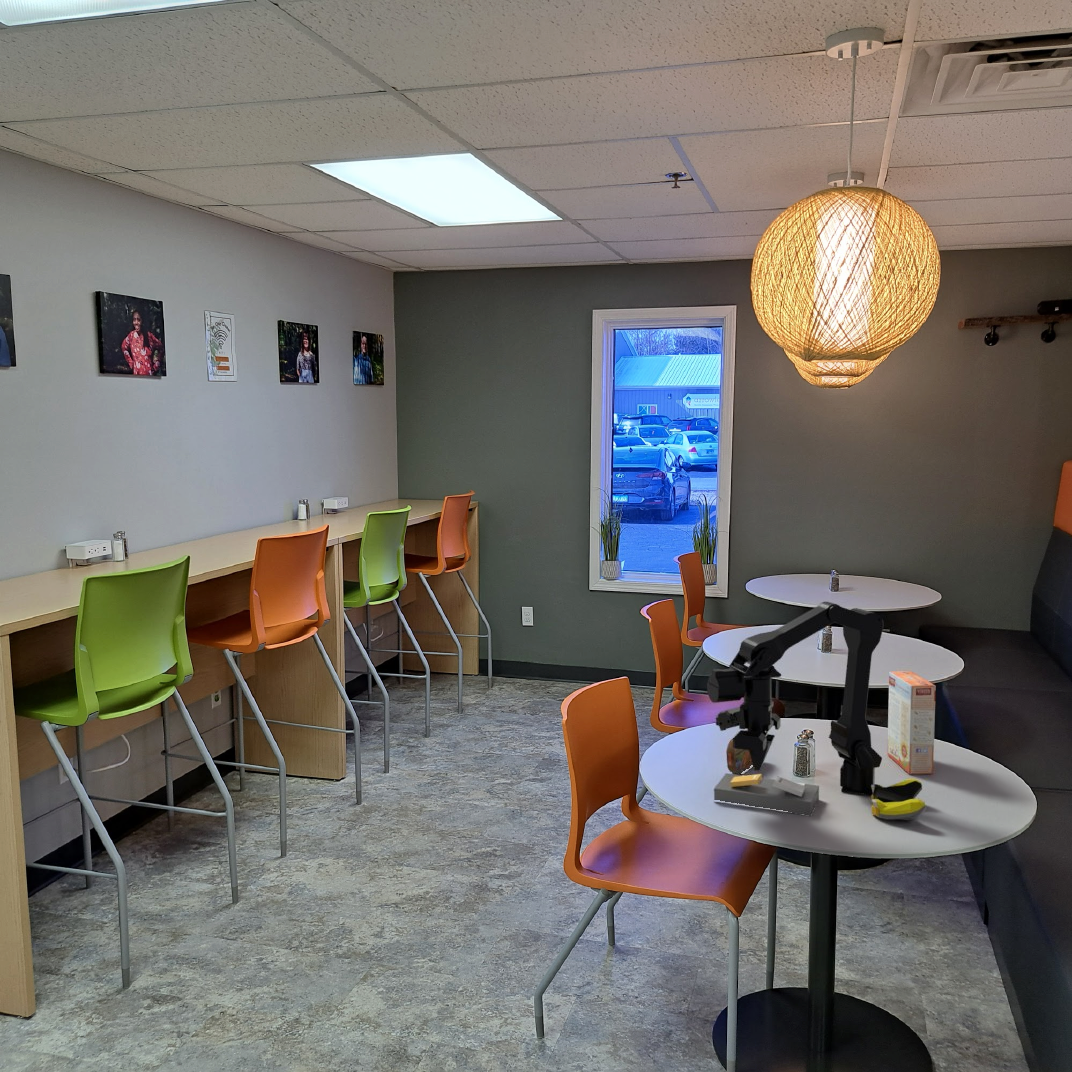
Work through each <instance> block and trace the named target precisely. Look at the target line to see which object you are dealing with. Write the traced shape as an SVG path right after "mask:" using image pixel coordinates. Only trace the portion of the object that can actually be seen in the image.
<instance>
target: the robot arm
mask: <svg viewBox="0 0 1072 1072" xmlns="http://www.w3.org/2000/svg"><path fill="white" fill-rule="evenodd" d="M833 624H838V625H841V626H842V632H843V633H842V634H843V638H844V641H845V644H846V647H847V660H846V671H845V680H844V691H843V699H842V710H841V715H840V716H839V718H838V719H837V720H833V719H832V720H831V721H830V733H829V735H828V739H830V742H831V746H832V747H833V749H834V750H835V751H836V752H837V754H838V757H839V758H841V759H843V761H842V765H841V766H840V769H839V771H840V772H839V777H840V778H839V786H840V787H841V789H840V790H841V791H840V792H843V793H847V794H855V795H864V796H869V797H871V795H872V794H873V791H872V788H871V785H875V778H876V777H875V775H876V774H875V773H876V771H875V768H879V767H880V766H881V763H882V760H883V758H882V756H881V755H880V754H879V753H878V752H877V751H876V750H875V749H874V748H873V747H872V734H871V731H870V728H869V724H868V721H867V719H866V718H867V717H866V716H867V708H868V707H867V706H868V697H869V696H868V695H869V689H870V686H869V685H870V678H871V677H870V675H871V666H872V659H873V658H872V657H873V656H872V655H873V653H874V650H875V649H876V648H877V647H878V645H879V644H880V642H881V638H882V634H883V630H884V620H883V618H881V616H880V614H877V613H876V612H872V611H868V610H865V609H862V608H858V607H855V608H851V609H848V608H846V607H842V606H840V605H839V604H838V603H834V602H830V601H823V602H820V603H819V604H818V605H817V606H815V607H814V608H812V609H810V610H808V611H807V612H805V613H803V614H801V615H799V616H797V617H796V618H795V619H793V620H791V621H789V622H787V623H786V624H784V625H782V626H780V627H779V628H778V627H777V629H774V630H771V631H767V632H760V633H757V634H754V635H752V636H749V637H746V638H745V639H743V640H742V641H741V643H740V646H739V650H738V651H737V654H736V655H735V656H734V658H733V660H732V661H731V663H730V664H729V665H728V668H723V669H719V668H714V669H711V675H710V676H709V677H708V680H707V683H706V691H707V696H708V698H709V700H710V701H711V702H712V703H713V704H716V703H726V702H736V701H737V702H738V701H741V699H743V702H741V704H739V706H738V707H733V708H729V709H726V710H722V711H720V712H719V713H717V714H716V716H715V725H716V726H718V728H719V730H720V731H721V732H723V731H726V730H727V729H730V728H731V729H732V728H736V727H739V729H740V730H739V731H738V732H737V733H736V734H735V735H734V737H732V738H733V748H735V749H744V750H749V753H750V756H751V760H752V763H753V769H754V771H755V772H760V771H761V770H762V768H763V765H764V762H765V760H766V758H767V755H768V753H769V751H770V749H771V746H772V743H773V741H774V740H775V736H776V735H775V734H770V733H769V732H770V730H771V729H772V728H773V727H774V729H775V730H777V731H778V730H779V729H780V727H781V724H782V723H781V717H780V716H779V715H778V714H777V713H774V712H773V713H772V708H773V707H774V701H773V700H772V679H773V678H781V677H782V674H781V673H780V671H778V670H777V669H776V667H775V666H774V665H775V664H776V663H777V662H778V661H779V660H781V659H782V658H783V656H784V654H785V653H786V652H787V651H788V650H789V649H790V648H792V647H793V646H795V645H797V644H799V643H800V642H802V641H804V640H806V639H807V638H809V637H811V636H812V635H813V636H814V635H815V634H816V633H818V632H821V630H823V629H826V628H827V627H829V626H830V625H833ZM746 664H748V665H749V666H748V665H746ZM745 730H748V731H745Z"/></svg>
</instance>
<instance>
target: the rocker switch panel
mask: <svg viewBox="0 0 1072 1072" xmlns="http://www.w3.org/2000/svg"><path fill="white" fill-rule="evenodd" d="M738 776H745V774H743V775H740V774H735V773H725V774H724V775H723V777H722V778H721V779H720V780H719V782H718V783H717V784H716V785H715V787H714V789H713V791H714V792H713V794H714V795H713V797H714V799H713V800H720V801H725V802H731V803H737V804H738V803H739V804H745V805H749V806H755V807H763V808H770V809H776V810H783V811H788V812H792V813H797V814H796V815H798V814H804V815H809V816H808V817H812V815H813V813H814V811H815V809H814V808H816V806H817V804H818V803H819V801H820V785H815V784H809V783H803V782H795V783H797V784H800V785H803V786H805V791H804V793H803V795H802V796H801V797H800V796H798V795H795V794H792V793H790V792H787V791H785V790H782V789H779V788H777V787H774V786H773V783H774V781H775V779H773V778H772V779H771V778H765V777H764V778H763V777H762V780H761V781H760V783H759V784H755V785H745V786H736V787H731V784H730V782H731V780H732V779H733V778H734V777H738ZM813 810H814V811H813ZM804 815H803V816H804Z"/></svg>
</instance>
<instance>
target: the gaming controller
mask: <svg viewBox="0 0 1072 1072" xmlns="http://www.w3.org/2000/svg"><path fill="white" fill-rule="evenodd" d="M871 788H872V791H873V794H872V795H871V796H870V797H871V798H870V799H871V802H870V804H872V805H871V814H872V815H874V816H876V818H880V819H885V820H904V821H905V820H906V821H907V820H910V821H911V820H912V819H914V818H916V817H918V816H919V815H920V814H922V813H923V812H924V811H925V810H926V804H925V801H923V800H921V799H919V798H916V797H917V796H918V795H919V794H920V793H921V791H922V790H923V784H922V781H920V780H918V779H916V778H906V779H904V780H902V781H899V782H897V783H895V784H891V785H889V786H882V785H880V784H877V783H876V784H875V785H871Z"/></svg>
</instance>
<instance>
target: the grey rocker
mask: <svg viewBox="0 0 1072 1072" xmlns="http://www.w3.org/2000/svg"><path fill="white" fill-rule="evenodd" d="M774 780H775V781H774V783H773V786H774V787H777V788H779V789H782V790H785V791H787V792H790V793H792V794H795V795H798V796H800V797H801V796H802V795H803V793H804V791H805V786H803V785H800V784H797V783H798V782H796V783H795V782H794V781H792V780H789V779H787V778H784V777H780V776H778V775H777V776H776V778H775V779H774Z"/></svg>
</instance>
